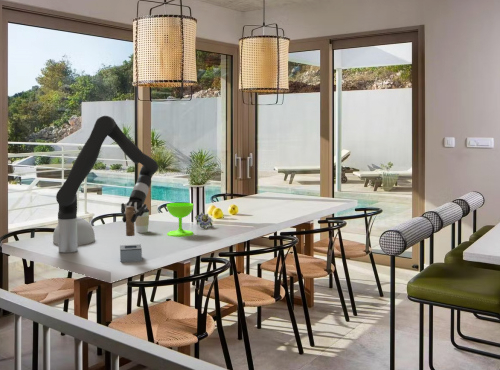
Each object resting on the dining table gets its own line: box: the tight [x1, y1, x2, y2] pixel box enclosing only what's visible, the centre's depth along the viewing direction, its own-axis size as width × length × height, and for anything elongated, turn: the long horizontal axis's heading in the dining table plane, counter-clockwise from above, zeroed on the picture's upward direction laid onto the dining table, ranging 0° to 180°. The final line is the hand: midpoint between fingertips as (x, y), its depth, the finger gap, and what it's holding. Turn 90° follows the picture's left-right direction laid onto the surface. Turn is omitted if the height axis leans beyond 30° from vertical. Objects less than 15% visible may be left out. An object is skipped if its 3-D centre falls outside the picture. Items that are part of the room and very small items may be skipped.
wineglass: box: [166, 202, 195, 238], centre depth 339 cm, size 16×16×18 cm
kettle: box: [52, 216, 96, 246], centre depth 320 cm, size 25×23×22 cm
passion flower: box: [194, 211, 214, 230], centre depth 362 cm, size 11×11×12 cm
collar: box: [119, 244, 143, 263], centre depth 276 cm, size 10×10×6 cm
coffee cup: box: [134, 208, 150, 234], centre depth 347 cm, size 9×9×15 cm
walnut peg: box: [125, 206, 136, 237], centre depth 275 cm, size 4×4×14 cm
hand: (128, 221), depth 273 cm, fingers closed on walnut peg, 4 cm apart
